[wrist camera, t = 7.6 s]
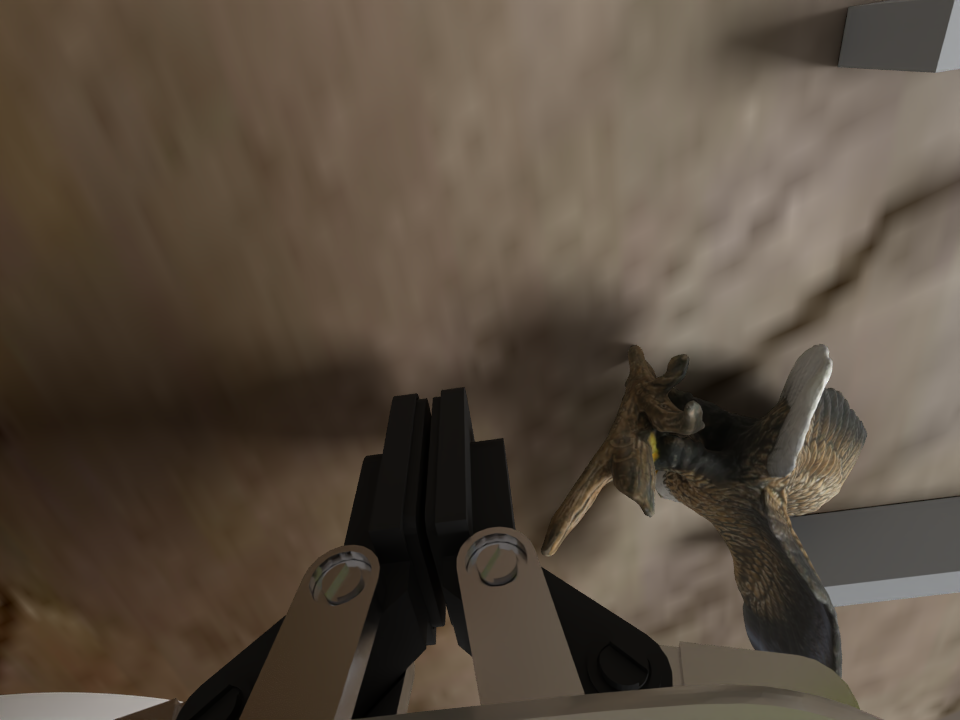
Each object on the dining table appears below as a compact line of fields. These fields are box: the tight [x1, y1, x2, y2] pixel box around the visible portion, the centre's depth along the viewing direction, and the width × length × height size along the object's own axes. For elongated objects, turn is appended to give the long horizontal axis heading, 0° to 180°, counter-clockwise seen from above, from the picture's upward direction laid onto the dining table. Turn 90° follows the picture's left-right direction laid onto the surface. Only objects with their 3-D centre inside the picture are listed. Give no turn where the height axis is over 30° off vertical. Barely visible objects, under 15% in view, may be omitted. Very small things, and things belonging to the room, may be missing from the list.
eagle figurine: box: [541, 344, 867, 678], centre depth 13 cm, size 8×7×9 cm
